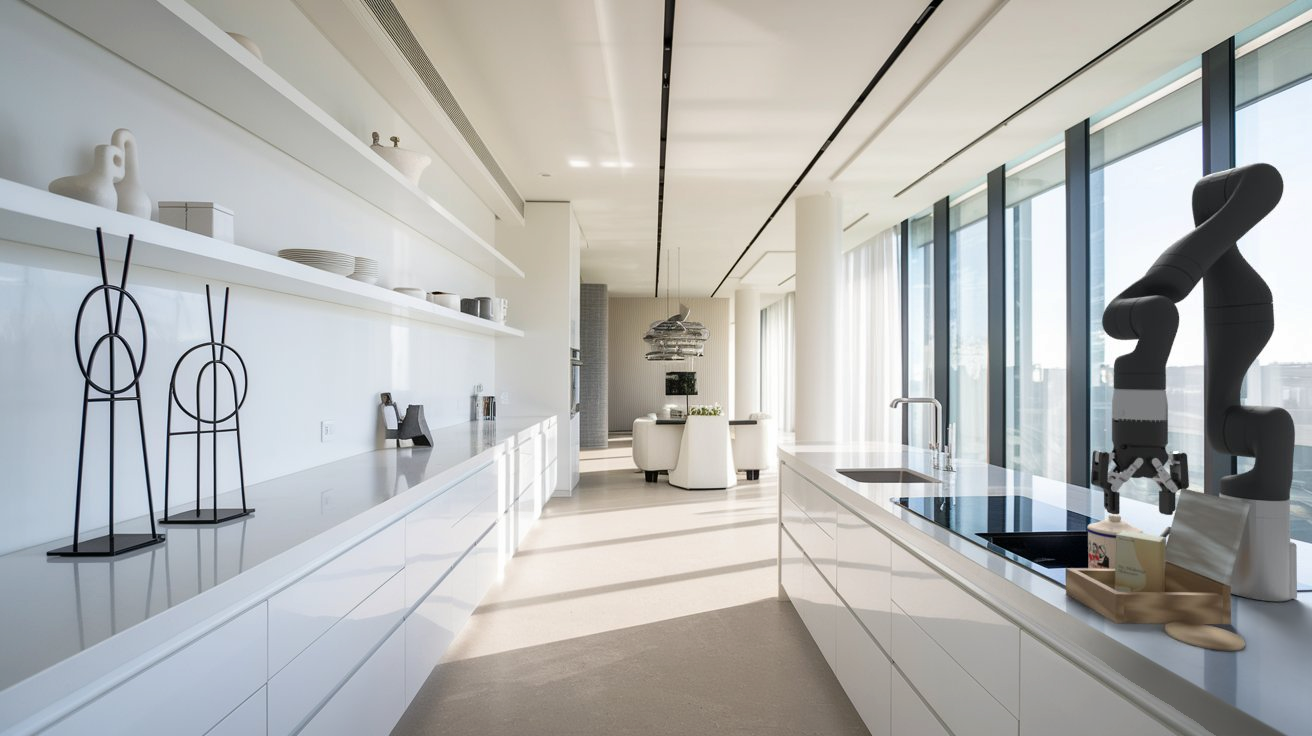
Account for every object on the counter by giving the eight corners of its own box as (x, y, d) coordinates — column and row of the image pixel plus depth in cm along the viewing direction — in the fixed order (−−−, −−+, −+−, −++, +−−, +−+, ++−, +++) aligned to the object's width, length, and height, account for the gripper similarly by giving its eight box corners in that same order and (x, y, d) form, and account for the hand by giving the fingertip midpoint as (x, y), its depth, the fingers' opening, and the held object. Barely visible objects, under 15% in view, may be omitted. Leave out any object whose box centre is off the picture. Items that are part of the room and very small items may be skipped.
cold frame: (1182, 593, 115) (1181, 486, 115) (1252, 624, 101) (1251, 503, 101) (1063, 591, 116) (1062, 486, 116) (1115, 622, 102) (1114, 502, 102)
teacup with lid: (1077, 567, 130) (1077, 509, 130) (1126, 569, 129) (1125, 510, 129) (1112, 587, 118) (1111, 523, 119) (1166, 589, 117) (1165, 524, 117)
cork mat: (1210, 626, 101) (1210, 622, 101) (1262, 651, 92) (1261, 646, 92) (1150, 625, 101) (1150, 621, 101) (1195, 650, 92) (1195, 645, 92)
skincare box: (1113, 606, 109) (1113, 533, 109) (1120, 600, 112) (1119, 529, 112) (1161, 616, 104) (1160, 540, 104) (1167, 610, 107) (1166, 536, 107)
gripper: (1166, 415, 112) (1166, 509, 112) (1081, 414, 112) (1081, 508, 112) (1201, 418, 104) (1201, 519, 104) (1110, 417, 105) (1109, 518, 105)
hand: (1139, 513), depth 108 cm, fingers open, 8 cm apart
